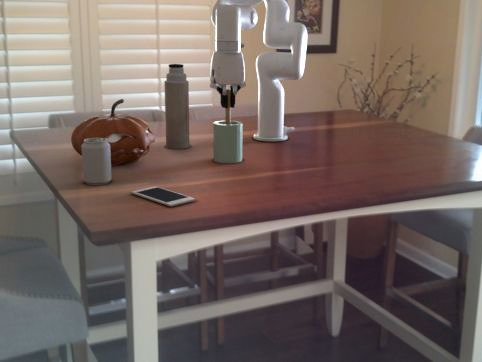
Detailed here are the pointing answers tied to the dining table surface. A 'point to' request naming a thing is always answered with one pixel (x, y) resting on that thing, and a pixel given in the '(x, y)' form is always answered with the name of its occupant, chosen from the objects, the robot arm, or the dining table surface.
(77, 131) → the pumpkin
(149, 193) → the cell phone
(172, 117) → the thermos bottle
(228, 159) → the sage green cup
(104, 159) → the can
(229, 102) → the brush
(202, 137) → the dining table surface
